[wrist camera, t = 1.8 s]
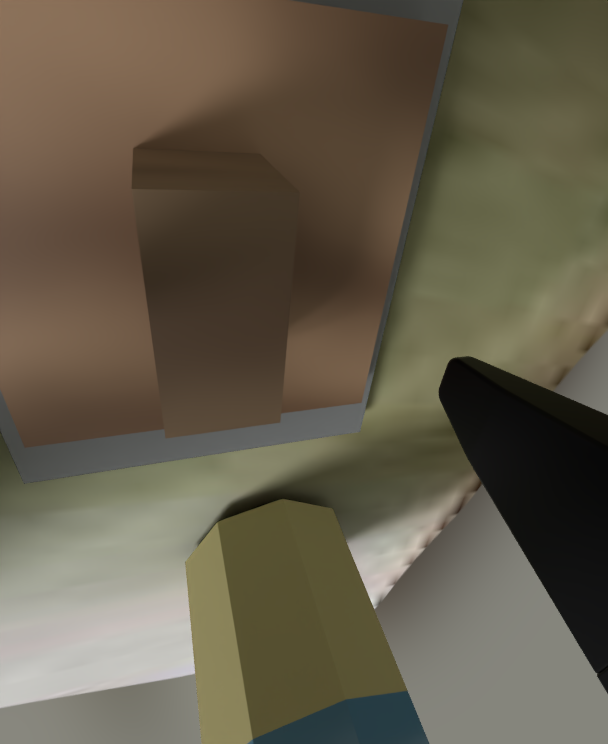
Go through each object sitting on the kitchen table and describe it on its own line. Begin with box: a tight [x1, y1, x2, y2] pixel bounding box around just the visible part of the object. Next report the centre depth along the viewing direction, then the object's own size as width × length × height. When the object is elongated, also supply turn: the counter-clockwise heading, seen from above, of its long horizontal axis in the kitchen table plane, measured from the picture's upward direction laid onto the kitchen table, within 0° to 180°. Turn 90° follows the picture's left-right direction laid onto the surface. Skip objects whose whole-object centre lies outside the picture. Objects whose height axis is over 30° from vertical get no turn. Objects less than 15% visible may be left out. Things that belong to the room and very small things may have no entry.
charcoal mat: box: [0, 0, 463, 484], centre depth 13 cm, size 18×14×1 cm
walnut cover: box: [0, 0, 448, 448], centre depth 11 cm, size 12×12×5 cm
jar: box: [185, 499, 429, 744], centre depth 20 cm, size 9×9×15 cm
